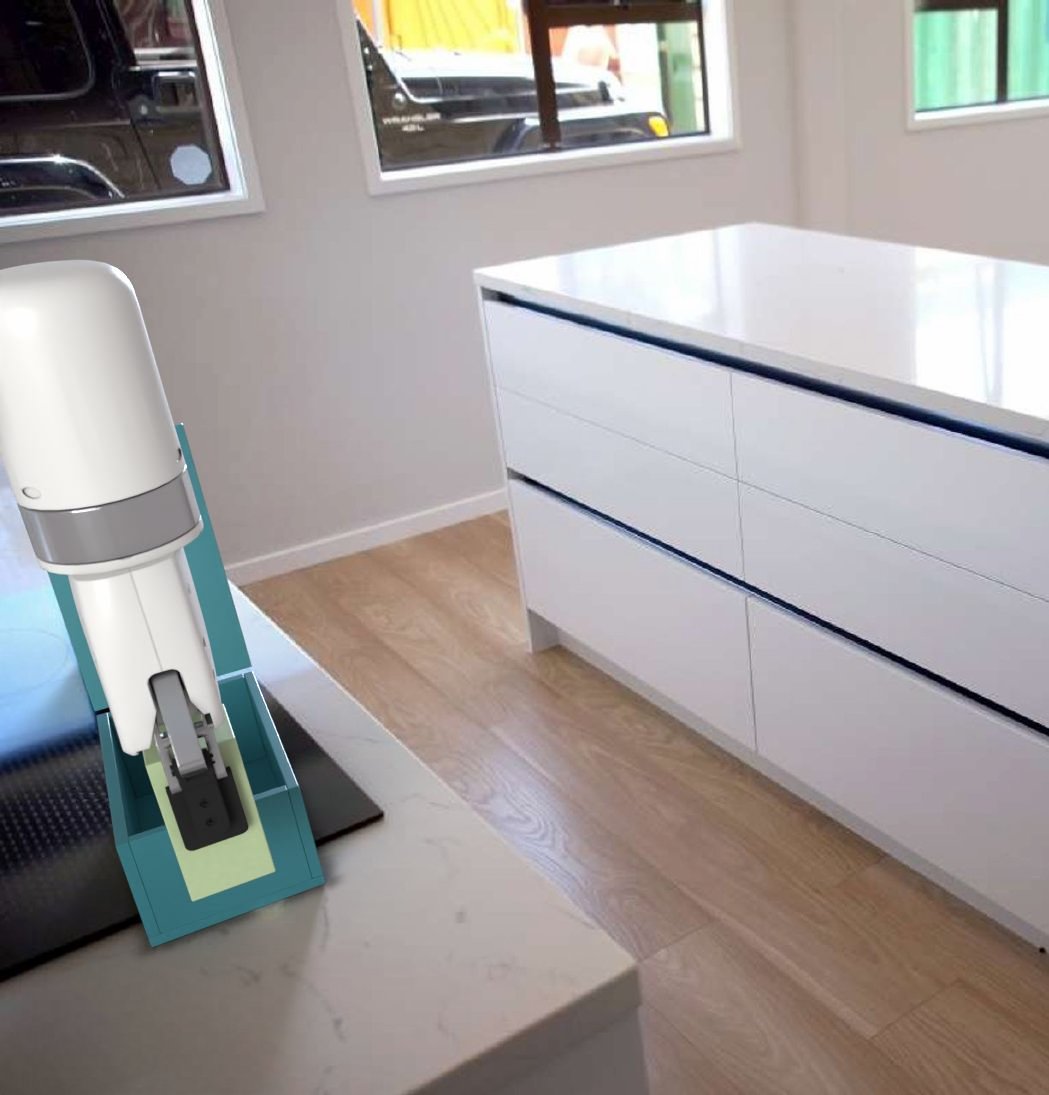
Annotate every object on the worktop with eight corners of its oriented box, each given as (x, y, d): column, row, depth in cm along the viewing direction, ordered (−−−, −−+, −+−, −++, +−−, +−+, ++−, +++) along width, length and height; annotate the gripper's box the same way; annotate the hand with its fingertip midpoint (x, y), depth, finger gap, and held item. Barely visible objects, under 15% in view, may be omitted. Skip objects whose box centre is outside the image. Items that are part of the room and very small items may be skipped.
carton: (276, 871, 70) (235, 737, 67) (192, 902, 68) (145, 766, 65) (263, 832, 74) (223, 702, 70) (182, 860, 72) (137, 728, 68)
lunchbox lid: (183, 424, 85) (176, 413, 89) (9, 458, 81) (10, 445, 85) (252, 666, 92) (243, 646, 96) (94, 711, 87) (92, 688, 91)
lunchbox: (325, 883, 81) (299, 786, 78) (151, 948, 77) (115, 847, 74) (277, 757, 96) (252, 670, 92) (127, 805, 91) (96, 715, 88)
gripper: (25, 486, 67) (125, 768, 75) (32, 598, 54) (153, 928, 61) (176, 453, 70) (257, 727, 78) (218, 552, 57) (311, 870, 65)
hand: (210, 812), depth 70 cm, fingers closed on carton, 4 cm apart
